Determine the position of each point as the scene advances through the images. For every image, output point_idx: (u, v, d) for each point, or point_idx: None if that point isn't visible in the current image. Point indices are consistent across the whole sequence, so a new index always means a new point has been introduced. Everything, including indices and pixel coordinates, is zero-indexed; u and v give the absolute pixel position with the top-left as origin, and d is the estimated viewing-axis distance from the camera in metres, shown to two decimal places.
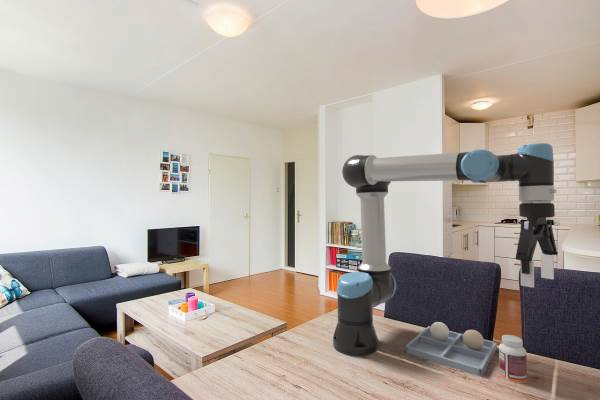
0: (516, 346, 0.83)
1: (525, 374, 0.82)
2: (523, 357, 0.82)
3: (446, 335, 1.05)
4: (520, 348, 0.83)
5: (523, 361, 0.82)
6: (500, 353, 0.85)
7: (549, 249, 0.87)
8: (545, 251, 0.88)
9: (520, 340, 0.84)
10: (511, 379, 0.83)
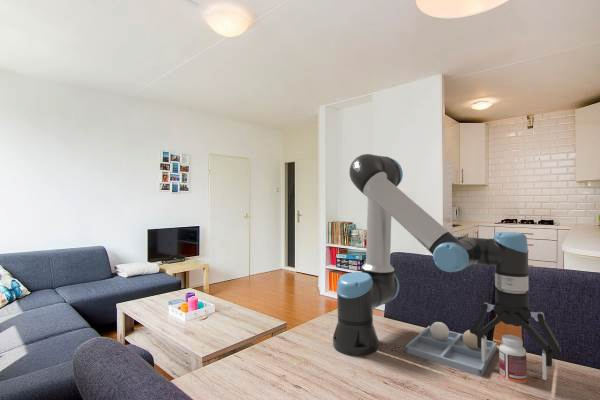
0: (516, 346, 0.83)
1: (525, 374, 0.82)
2: (523, 357, 0.82)
3: (446, 335, 1.05)
4: (520, 348, 0.83)
5: (523, 361, 0.82)
6: (500, 353, 0.85)
7: None
8: None
9: (520, 340, 0.84)
10: (511, 379, 0.83)
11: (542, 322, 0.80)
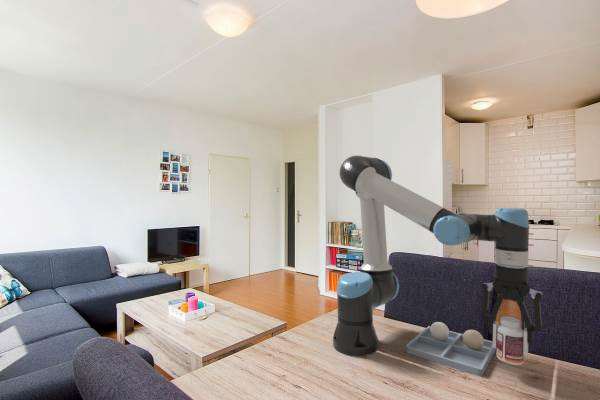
0: (515, 328, 0.83)
1: (522, 355, 0.83)
2: (521, 339, 0.82)
3: (446, 335, 1.05)
4: (518, 329, 0.83)
5: (521, 342, 0.83)
6: (498, 334, 0.86)
7: None
8: None
9: (519, 322, 0.84)
10: (508, 359, 0.83)
11: (537, 301, 0.80)
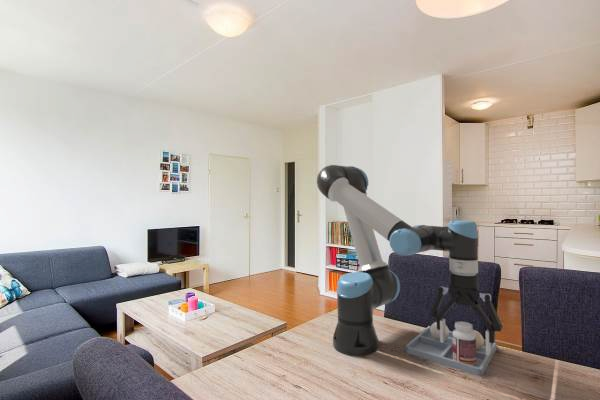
0: (466, 332, 0.91)
1: (474, 357, 0.90)
2: (472, 341, 0.90)
3: (446, 335, 1.05)
4: (470, 333, 0.91)
5: (472, 345, 0.90)
6: (453, 338, 0.93)
7: None
8: None
9: (470, 326, 0.91)
10: (461, 361, 0.90)
11: (488, 302, 0.88)
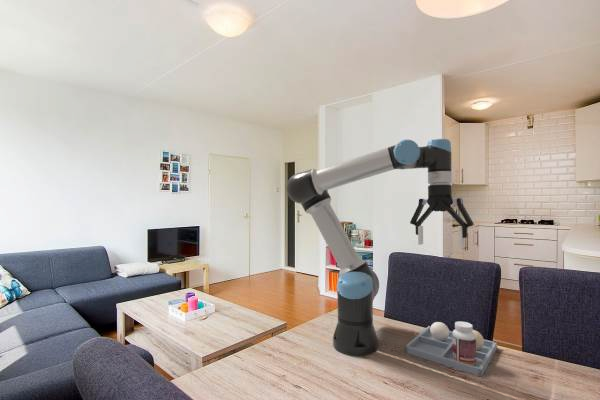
0: (466, 332, 0.91)
1: (474, 357, 0.90)
2: (472, 341, 0.90)
3: (446, 335, 1.05)
4: (470, 333, 0.91)
5: (472, 345, 0.90)
6: (453, 338, 0.93)
7: None
8: None
9: (470, 326, 0.91)
10: (461, 361, 0.90)
11: (459, 204, 1.04)
